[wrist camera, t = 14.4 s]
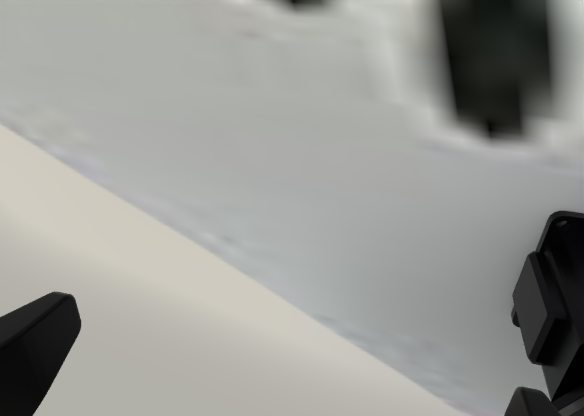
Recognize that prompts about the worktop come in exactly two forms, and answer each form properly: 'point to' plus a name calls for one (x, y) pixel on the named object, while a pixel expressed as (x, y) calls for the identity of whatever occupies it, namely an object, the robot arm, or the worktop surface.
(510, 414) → the robot arm
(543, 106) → the worktop surface
